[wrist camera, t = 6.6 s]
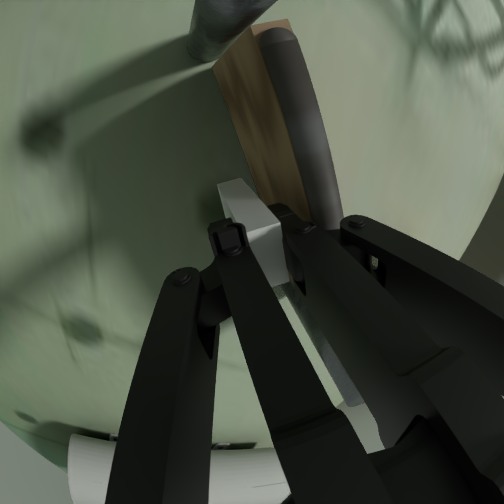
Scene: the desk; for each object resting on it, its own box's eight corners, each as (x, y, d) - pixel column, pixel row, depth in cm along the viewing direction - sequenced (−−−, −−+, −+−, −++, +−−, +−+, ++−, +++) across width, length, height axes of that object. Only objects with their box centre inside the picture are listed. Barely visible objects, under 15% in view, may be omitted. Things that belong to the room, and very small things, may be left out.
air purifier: (249, 522, 45) (83, 519, 29) (234, 471, 59) (81, 459, 44) (309, 498, 35) (66, 502, 19) (282, 429, 49) (71, 412, 34)
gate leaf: (298, 265, 29) (363, 360, 18) (284, 271, 28) (344, 370, 18) (230, 61, 18) (296, 13, 7) (211, 67, 18) (255, 20, 7)
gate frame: (292, 316, 33) (349, 424, 20) (181, 36, 16) (194, -67, 4) (410, 255, 33) (489, 326, 21) (366, 2, 17) (495, -23, 4)
